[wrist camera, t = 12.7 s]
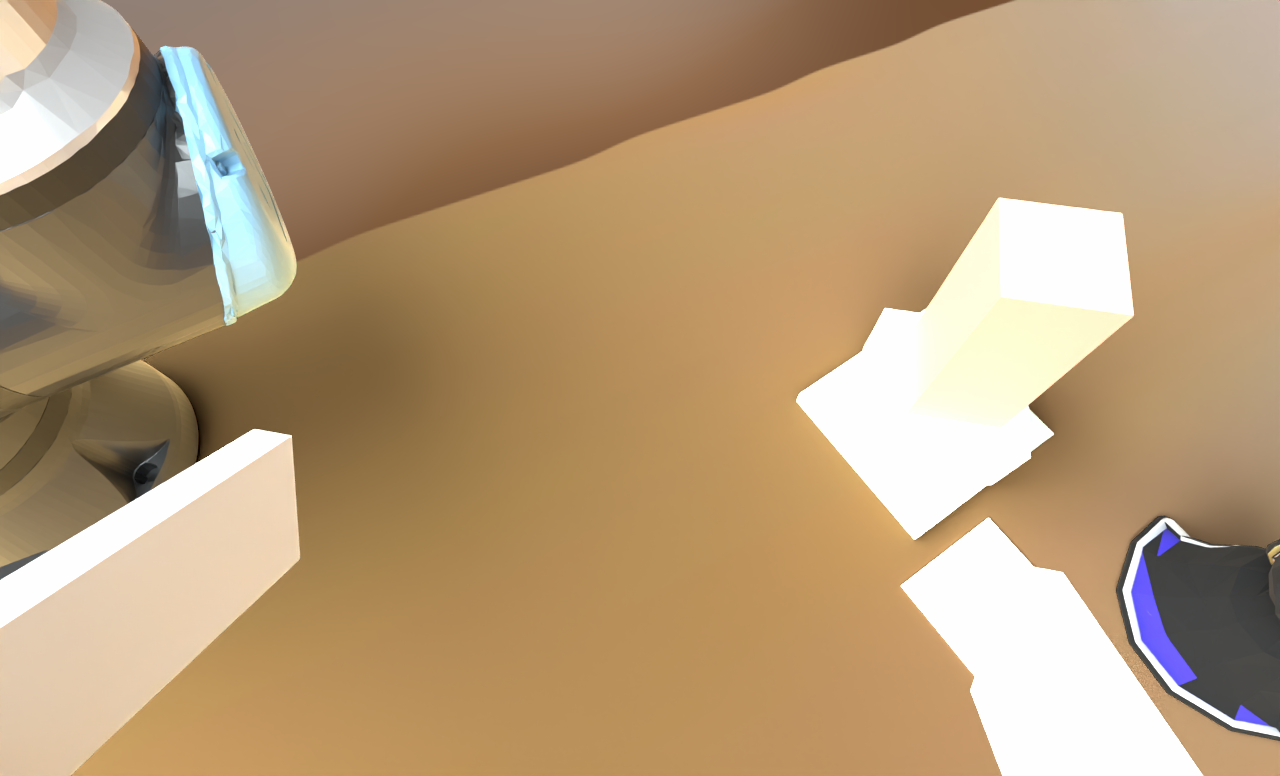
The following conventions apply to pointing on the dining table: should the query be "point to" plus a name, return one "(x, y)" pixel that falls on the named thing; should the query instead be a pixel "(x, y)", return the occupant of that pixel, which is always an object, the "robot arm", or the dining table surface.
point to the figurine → (1207, 624)
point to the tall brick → (1018, 311)
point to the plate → (900, 491)
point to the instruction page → (967, 589)
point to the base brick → (925, 419)
